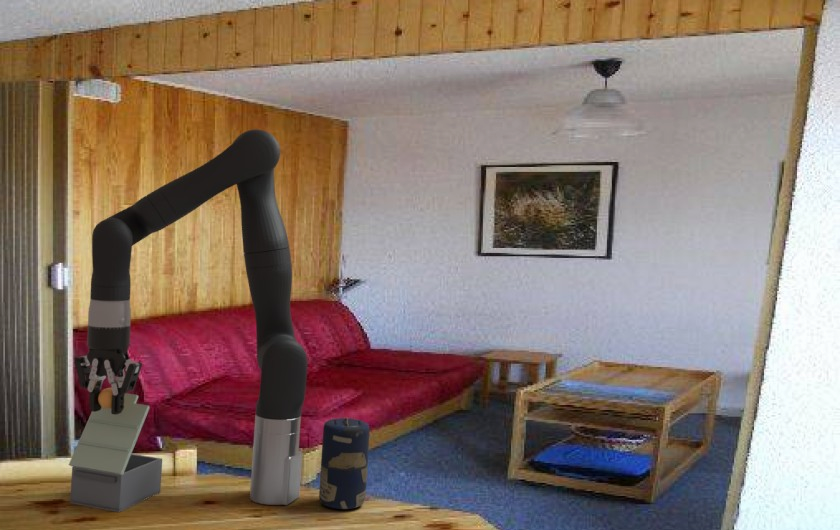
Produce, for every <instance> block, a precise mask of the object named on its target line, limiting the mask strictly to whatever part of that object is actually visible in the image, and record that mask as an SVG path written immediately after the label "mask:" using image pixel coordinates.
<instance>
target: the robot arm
mask: <svg viewBox="0 0 840 530" xmlns="http://www.w3.org/2000/svg"><path fill="white" fill-rule="evenodd" d="M280 158H281V147H280V144H279V142H278V140H277V138H275V136H274V135H273V134H272V133H270V132H268V131H265V130H262V129H249V130H247V131H244V132H243V133H241V134H240V135H238V136H237V137H236V138H235V139H234V141H233V142H232V143H231V144H230V145H228V147H227V148H225V149H224V150H223V151H222V152H220V153H219V154H217V155H216V156H215V157H214V158H212V159H210V160H209V161H207V162H206V163H204V164H201V166H199V167H197V168H195V169H193V170H192V171H189V172H187V173H186V174H183V175H181V176H179V177H178V178H176V179H173V180H171V181H170V182H168V183H166V184H164V185H162V186H160V187H159V188H156V189H155V190H153V191H152V192H149V193H148V194H146V195H144V196H143V197H141V198H140V199H139V200H137V201H136V202H135V203H134V204H132V205H130V206H128V207H125V208H124V209H122V210H121V211H119V212H116V213H114V214H113V215H110V216H109V217H107V218H105V219H103V220H100V222H98V223H97V224H96V225H95V226H94V229H93V230H92V235H91V252H92V253H91V257H92V261H91V262H92V274H91V279H90V300H89V307H88V315H87V340H86V341H87V342H86V345H87V347H88V348H89V349H88V351H87V354H85V355H82V356H76V357H75V358H74V359H73V361H74V365H75V370H76V374H77V379H78V383H79V386H80V388H81V389H82V388H84V389H85V390H87V391H88V392H89V393H88V394H89V396H88V398H89V399H88V400H89V402H88V406H89V409H90V411H91V412H92V411H93V412H96V411H99V410H101V405H100V404H99V402H98V396H99V394H100V392H101V391H102V390H101V389H102V386H103V383H104V380H105V379H106V378H107V380H108V383H109V384H110V385H111V387H110V388H112V392H113V395H112V407H111V413H112V414H115V415H116V414H119V413H121V412H122V410H123V409H124V395H125V393H129V392H133V391H134V390H135V387H136V384H137V381H138V379H139V376H140V372H141V370H142V367H143V363H142V362H141V361H136V362H135V361H133V360H131V359H130V356H129V352H128V350H129V348H130V344H131V321H132V320H131V318H132V317H131V316H132V312H131V311H132V309H131V286H132V284H131V272H130V269H131V260H132V250H133V249H132V248H133V246H134V245H136V244H138V243H140V242H141V241H142V240H144V239H145V238H147V237H148V236H150V235H151V234H154V233H157V232H159V231H161V230H164V229H165V228H167V227H169V226H171V225H172V224H174V223H175V222H178V221H179V220H180V219H182V218H184V217H185V216H187V215H189V214H190V213H192V212H193V211H195V210H196V209H198V208H199V207H201V206H202V205H204V204H205V203H206V202H209V200H211V199H212V198H214V197H216V196H217V195H219V194H220V193H222V192H224V191H226V190H228V189H229V188H232V187H233V186H236V187H237V191H238V197H239V202H240V220H241V221H240V224H241V236H242V237H241V239H242V248H243V257H244V265H245V272H246V277H247V282H248V283H247V284H248V287H249V293H250V298H251V301H252V302H251V303H252V305H253V309H254V315H255V316H254V317H255V325H256V326H255V327H256V329H255V330H256V362H257V364H258V365H257V366H258V367H259V370H260V371H261V372H260V383H259V394H258V399H257V401H256V404H255V417H254V431H253V444H252V445H253V447H252V449H253V450H252V462H251V463H252V464H251V479H250V486H249V488H250V490H249V491H250V494H249V498H250V500H252V502H255V503H256V504H257V503H258V504H261V505H271V506H272V505H273V506H274V505H278V506H279V505H284V506H288V505H289V504H291V503H293V502H294V501H295V500H297V499H299V498H300V495H301V494H300V493H301V476H302V473H301V472H302V461H303V452H302V451H300V434H301V433H300V431H301V421H302V409H303V405H304V403H305V397H306V389H307V388H306V387H307V377H308V376H307V375H308V356H307V352H306V350H305V347H303V346H302V345H301V344H300V342H298V341H297V338H296V335H295V331H294V325H293V320H292V313H291V295H292V286H293V285H292V284H293V283H292V282H293V265H292V258H291V249H290V243H289V238H288V233H287V231H286V227H285V224H284V220H283V218H282V215H281V212H280V209H279V207H278V202H277V198H276V190H275V189H276V188H275V174H274V173H275V168H276V167H277V166H278V165H277V164H278V163H279V160H280Z"/></svg>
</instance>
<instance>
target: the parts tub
mask: <svg viewBox="0 0 840 530" xmlns="http://www.w3.org/2000/svg"><path fill="white" fill-rule="evenodd" d="M162 471H163V458H161V457H153V456H148V455H142V454H135V453H131V456H130V458H129V461H128V463H127V466H126V468H125V471H124V473H123V475H121V474H115V473H109V472H103V471H97V470H91V469H85V468H79V467H73V466H71V482H70V496H69V497H70V498H69V499H70V500H69V504H73V505H76V506H77V505H79V506H83V507H88V508H89V507H90V508H95V509H100V510H106V511H110V512H115V513H121V512H123V511H125V510H127V509H129V508H131V507H133V506H135V505H137V503H138V504H140V503H141V501H142V502H144V501H145V500H144V499H146V498H148V497H150V498H152V497H154V496H156V495H155V494H157V493H159V494H160V493H161V487H162V474H163V473H162ZM153 495H154V496H153ZM157 495H158V494H157ZM151 496H152V497H151ZM148 499H149V498H148ZM143 500H144V501H143ZM146 500H147V499H146ZM139 502H140V503H139Z"/></svg>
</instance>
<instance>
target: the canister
mask: <svg viewBox="0 0 840 530" xmlns="http://www.w3.org/2000/svg"><path fill="white" fill-rule="evenodd" d="M322 430H323V431H322V444H321V459H320V473H319V474H320V477H319V494H318V498H319V503H321V504H322V505H323V506H324V507H325V506H326V507H328V508H331V509H336V510H351V509H355V508H358V507H360V506H362V505H363V504H364V503H365V501H366V496H367V481H368V470H369V469H368V468H369V467H368V466H369V465H368V464H369V463H368V462H369V447H370V433H371V432H370V425H369V424H368V423H367V422H366V421H363V420H361V419H356V418H348V417H347V416H346V417H345V418H341V417H340V418H331V419H328V420H327V421H325V422H324V424H323V429H322Z"/></svg>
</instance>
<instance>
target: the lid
mask: <svg viewBox="0 0 840 530" xmlns="http://www.w3.org/2000/svg"><path fill="white" fill-rule="evenodd" d="M100 391H101V392H100V394H99V396H98V402H99V404H100V405H101V410H99V411H96V412H93V411H91V412H90V415H89V418H88V420H87V421H86V424H85V426H84V429H83V430H82V433H81V436H80V438H79V440H78V442H77V445H76V446H75V449H74V451H73V453H72V456H71V458H70V461H69V463H68V465H69V466H71V467H79V468H85V469H91V470H97V471H103V472H109V473H115V474H121V475H123V473H124V471H125V468H126V466H127V463H128V461H129V458H130V456H131V454H133V452H134V451H133V450H134V448H135V445H136V443H137V441H138V437H139V436H140V434H141V430H142V428H143V426H144V423H145V420H146V418H147V415H148V413H149V411H150V408H151V407H150V405H148V404H147V405H146V404H140V403H137V402H138V399H139V397H140V396H139V395H137V394H134V393H128V392H126V393H125V395H124V409H123V410H122V412H121V413H119V414H116V415H115V414H112V413H111V407H112V395H113V392H112V387H107V388H104V389H102V390H100Z"/></svg>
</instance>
